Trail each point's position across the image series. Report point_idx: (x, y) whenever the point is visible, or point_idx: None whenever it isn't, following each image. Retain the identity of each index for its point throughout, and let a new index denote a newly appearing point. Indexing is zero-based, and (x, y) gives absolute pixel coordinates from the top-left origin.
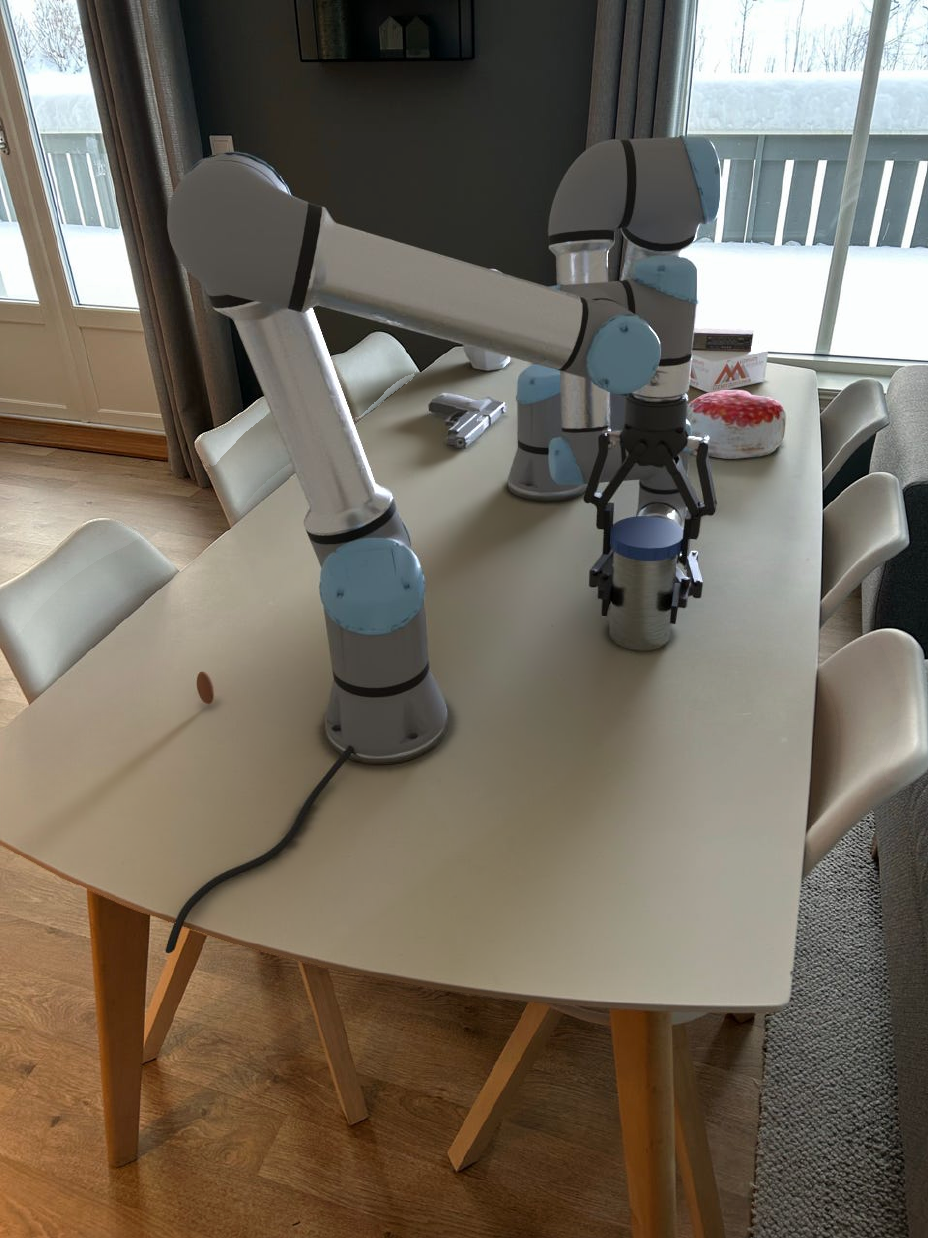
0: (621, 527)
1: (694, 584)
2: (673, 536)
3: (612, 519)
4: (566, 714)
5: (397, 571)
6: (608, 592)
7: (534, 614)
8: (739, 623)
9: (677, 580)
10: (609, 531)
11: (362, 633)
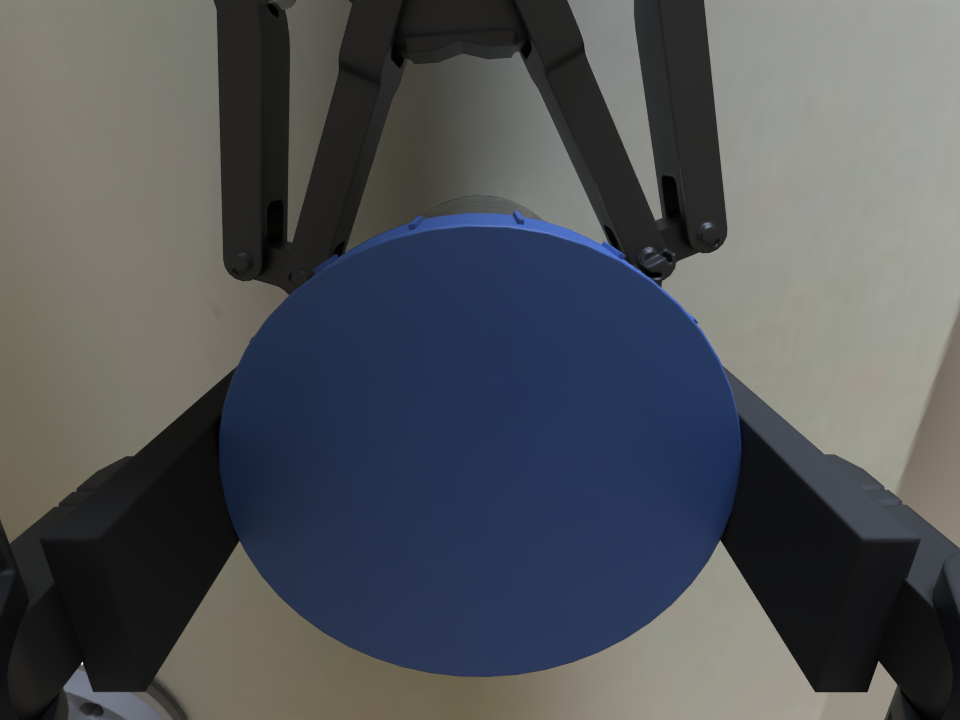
0: (291, 469)
1: (686, 242)
2: (665, 514)
3: (193, 487)
4: None
5: None
6: None
7: (135, 260)
8: (790, 132)
9: (613, 230)
10: (233, 536)
11: None
